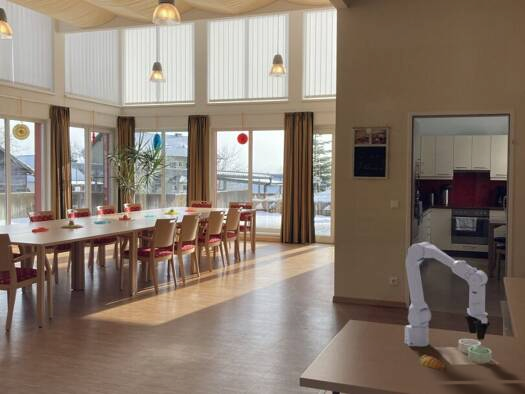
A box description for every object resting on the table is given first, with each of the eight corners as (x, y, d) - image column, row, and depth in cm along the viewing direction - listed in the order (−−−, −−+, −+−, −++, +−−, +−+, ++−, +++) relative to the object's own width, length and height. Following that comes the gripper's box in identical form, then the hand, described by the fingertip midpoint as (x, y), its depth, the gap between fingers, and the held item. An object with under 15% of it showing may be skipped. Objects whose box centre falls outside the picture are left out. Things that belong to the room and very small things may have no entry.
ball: (475, 360, 201) (476, 347, 201) (470, 355, 206) (470, 343, 206) (488, 360, 201) (489, 347, 201) (483, 355, 206) (483, 343, 206)
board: (451, 367, 198) (451, 364, 198) (434, 349, 218) (434, 347, 218) (498, 366, 198) (498, 364, 198) (477, 349, 218) (477, 346, 218)
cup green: (473, 363, 200) (473, 354, 200) (464, 355, 208) (464, 346, 208) (494, 362, 200) (494, 353, 200) (485, 355, 208) (485, 346, 208)
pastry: (449, 369, 197) (449, 359, 197) (438, 374, 193) (438, 363, 193) (427, 362, 204) (427, 352, 204) (417, 366, 200) (417, 356, 200)
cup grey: (463, 354, 209) (463, 345, 209) (455, 347, 217) (455, 339, 217) (483, 353, 209) (484, 345, 209) (475, 347, 217) (475, 338, 217)
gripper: (495, 306, 198) (495, 342, 198) (479, 297, 212) (479, 330, 213) (476, 306, 198) (476, 342, 198) (462, 297, 212) (461, 330, 213)
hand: (476, 336), depth 206 cm, fingers open, 7 cm apart
